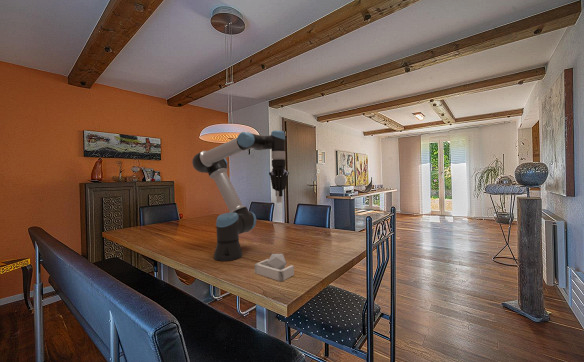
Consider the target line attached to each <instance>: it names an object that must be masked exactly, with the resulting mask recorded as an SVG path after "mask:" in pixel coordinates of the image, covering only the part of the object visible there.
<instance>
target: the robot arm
mask: <svg viewBox="0 0 584 362" xmlns="http://www.w3.org/2000/svg"><path fill="white" fill-rule="evenodd" d="M270 133H271V134H270V135H260V134H256V133H252V132H249V131H242V132H240V133H239V134H238V136H237V137H236V138H233V139H231V140H229V141H227V142H225V143H222V144H219V145H218V146H216V147H213V148H211V149H208V150H202V151H200V152H198V153H196V154H195V155H194V156H193V158H192V160H191V163H192V167H193V168H194V170H195V171H197V172H199V173H201V174H202V173H204V174H206V173H207V174H208V176H209V178H210V179H212V180H213V181H214V182H215V185H216V187H217V188H218V190H219V193H220V194H221V197H222V198H223V200H224V203H225V205H226V207H227V209H228V211H229V212H224V213H222V214H219V215H218V216H217V218H216V223H215V226H216V247H215V248H214V252H213V258H214V259H213V260H215V261H221V262H229V261H234V260H237V259H240V258H242V257H243V250H242V247H241V243H240V238H239V237H240V235H242V234H244V233H248V232H249V231H251V230H253V229H254V228H256V225H257V217H256V214H255V213H254V212H253V211H250V210H249V209H248V207H247V206H245V205H243V203H242V201H241V198H240V197H239V195H238V193H237V191H236V189H235V188H234V187H235V186H234V184H233V183H232V181H231V179H230V177H229V176H228V175H229V174H228V161H227V158H229V157H232V156H234V155H236V154H239V153H241V152H243V151H246V150H248V149H253V150H255V151H262V150H271V166H272V169H271V171H269V173H268V175H269V178H270V182H271V183H270V184H271V186H272V190H274V191H275V197H276V198H275V199H276V203H279V204H280V203H283V202H282V201H283V200H282V199H283V196H284V195H283V190H286V187H287V182H288V177H289V174H290V172H289V171H287V170H286V133H285V131H284V130H277V129H276V130H272V131H271V132H270Z"/></svg>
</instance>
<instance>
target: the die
mask: <svg viewBox="0 0 584 362" xmlns="http://www.w3.org/2000/svg"><path fill="white" fill-rule="evenodd" d="M268 259H269V261H268V263H267V264H268V266H269V267H272V268H275V269H279V270H282V269H284V268H286V266H287V261H286V258H285V256H284V253H271V255H270V257H269V258H268Z"/></svg>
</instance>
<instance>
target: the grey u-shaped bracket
mask: <svg viewBox="0 0 584 362" xmlns="http://www.w3.org/2000/svg"><path fill="white" fill-rule="evenodd" d="M269 259H270V258H266V259H264V260H262V261H259V262H256V263H254V264H253V265H254V274H257V275H259V276H263V277H266V278H270V279H273V280H276V281H278V282H283V281H285V280H287V279H289V278H291V277H293V276H294V275H295V266H294V265H291V264H290V265H289V266H287V267H286V266H285V268H284V269H282V270H279V269H275V268H272V267H269V266H268V264H267V263H268V261H269Z"/></svg>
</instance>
